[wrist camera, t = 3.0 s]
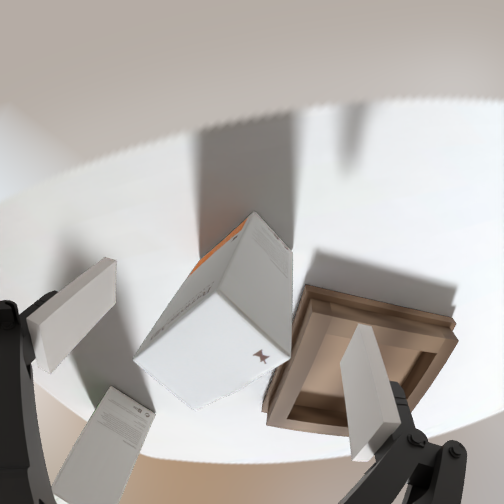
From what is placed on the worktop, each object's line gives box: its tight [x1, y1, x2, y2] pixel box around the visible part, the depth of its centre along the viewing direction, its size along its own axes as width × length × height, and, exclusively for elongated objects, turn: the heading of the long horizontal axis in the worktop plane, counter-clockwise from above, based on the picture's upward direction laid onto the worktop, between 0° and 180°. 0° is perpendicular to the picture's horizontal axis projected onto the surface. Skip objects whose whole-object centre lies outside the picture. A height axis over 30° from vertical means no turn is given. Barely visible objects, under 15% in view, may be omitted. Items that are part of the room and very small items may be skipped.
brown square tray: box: [262, 285, 459, 437], centre depth 25 cm, size 14×14×3 cm
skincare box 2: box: [133, 212, 293, 411], centre depth 18 cm, size 6×4×12 cm
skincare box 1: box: [51, 386, 156, 504], centre depth 25 cm, size 8×7×16 cm
